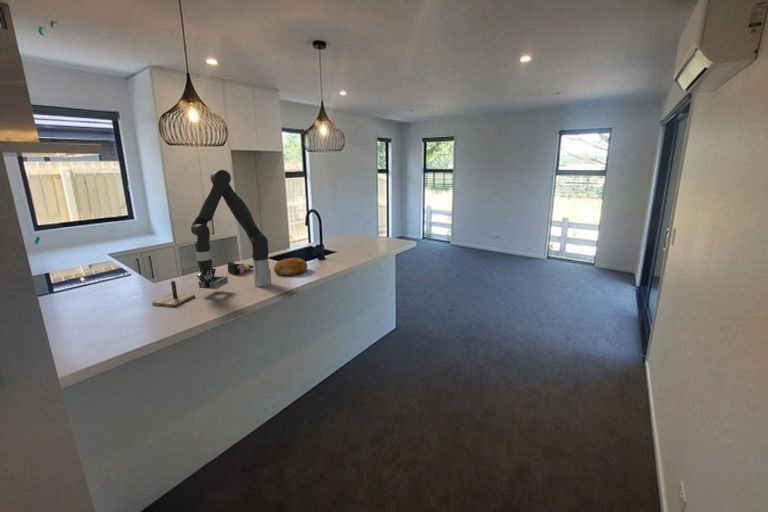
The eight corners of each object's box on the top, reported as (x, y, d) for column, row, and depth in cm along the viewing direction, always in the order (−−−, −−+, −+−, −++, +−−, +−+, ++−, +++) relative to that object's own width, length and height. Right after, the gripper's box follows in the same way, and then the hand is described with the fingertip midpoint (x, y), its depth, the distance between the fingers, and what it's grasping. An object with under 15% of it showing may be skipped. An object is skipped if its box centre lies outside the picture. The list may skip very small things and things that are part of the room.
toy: (255, 262, 247) (235, 265, 235) (254, 272, 248) (235, 274, 236) (245, 260, 254) (226, 262, 242) (245, 269, 255) (226, 271, 243)
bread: (274, 268, 254) (273, 255, 252) (306, 266, 261) (305, 254, 258) (274, 278, 233) (273, 264, 231) (309, 275, 240) (308, 261, 237)
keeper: (195, 297, 197) (192, 278, 194) (174, 307, 183) (171, 286, 180) (174, 295, 200) (171, 276, 197) (152, 304, 186) (149, 284, 183)
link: (228, 282, 207) (227, 276, 206) (216, 289, 197) (215, 282, 196) (212, 281, 209) (211, 275, 208) (199, 288, 199) (198, 281, 198)
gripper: (202, 262, 187) (206, 291, 191) (218, 255, 200) (222, 283, 204) (189, 261, 188) (194, 291, 192) (206, 255, 201) (210, 283, 205)
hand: (208, 287), depth 198 cm, fingers closed on link, 1 cm apart
